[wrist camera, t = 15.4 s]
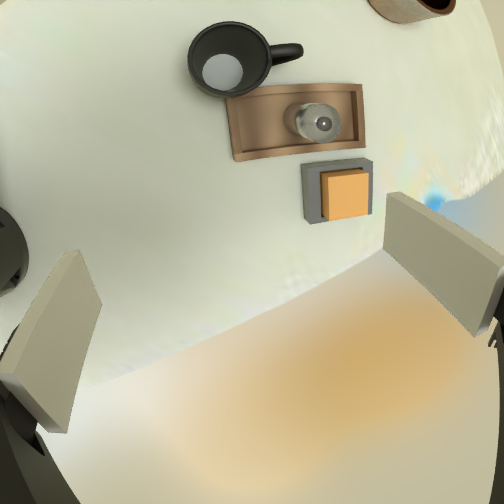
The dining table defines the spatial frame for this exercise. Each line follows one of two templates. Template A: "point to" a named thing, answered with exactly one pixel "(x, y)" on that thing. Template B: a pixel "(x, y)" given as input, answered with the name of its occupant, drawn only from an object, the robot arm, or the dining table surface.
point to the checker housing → (313, 184)
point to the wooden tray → (272, 126)
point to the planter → (413, 9)
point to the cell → (313, 121)
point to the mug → (238, 55)
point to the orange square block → (344, 193)
